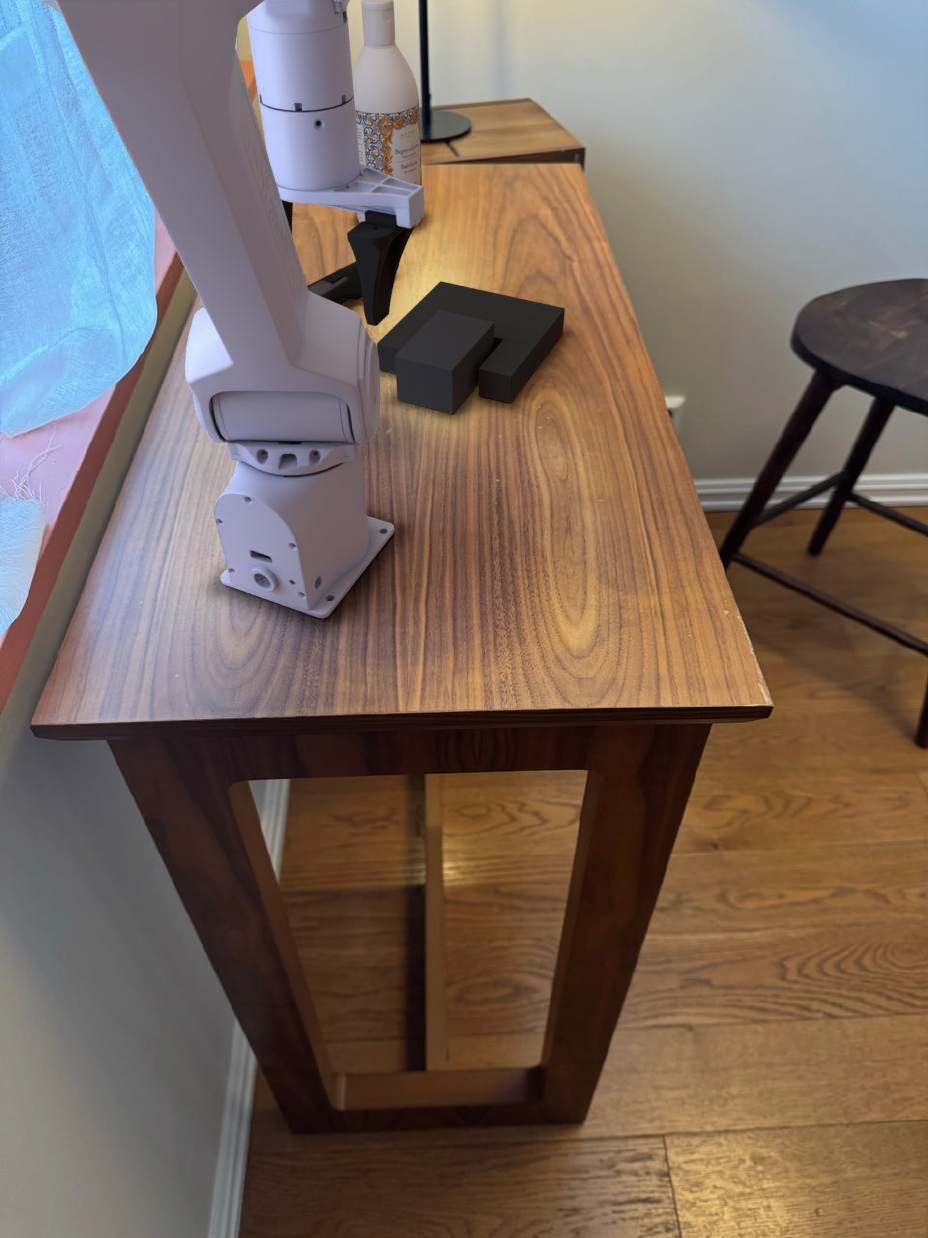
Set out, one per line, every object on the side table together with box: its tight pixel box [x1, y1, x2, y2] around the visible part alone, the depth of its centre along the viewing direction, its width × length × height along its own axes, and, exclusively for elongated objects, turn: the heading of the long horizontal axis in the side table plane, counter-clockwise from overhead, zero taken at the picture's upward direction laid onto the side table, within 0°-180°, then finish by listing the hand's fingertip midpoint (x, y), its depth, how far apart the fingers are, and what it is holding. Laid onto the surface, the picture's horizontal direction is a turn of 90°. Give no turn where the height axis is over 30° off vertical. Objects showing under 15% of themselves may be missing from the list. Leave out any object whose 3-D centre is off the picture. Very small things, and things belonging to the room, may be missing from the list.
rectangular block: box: [395, 310, 494, 415], centre depth 74 cm, size 8×5×4 cm, turn 155°
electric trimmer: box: [307, 260, 400, 306], centre depth 83 cm, size 4×16×3 cm, turn 142°
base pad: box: [376, 280, 566, 404], centre depth 78 cm, size 12×12×2 cm
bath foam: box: [352, 0, 423, 227], centre depth 90 cm, size 7×7×20 cm
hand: (331, 307), depth 65 cm, fingers open, 7 cm apart
